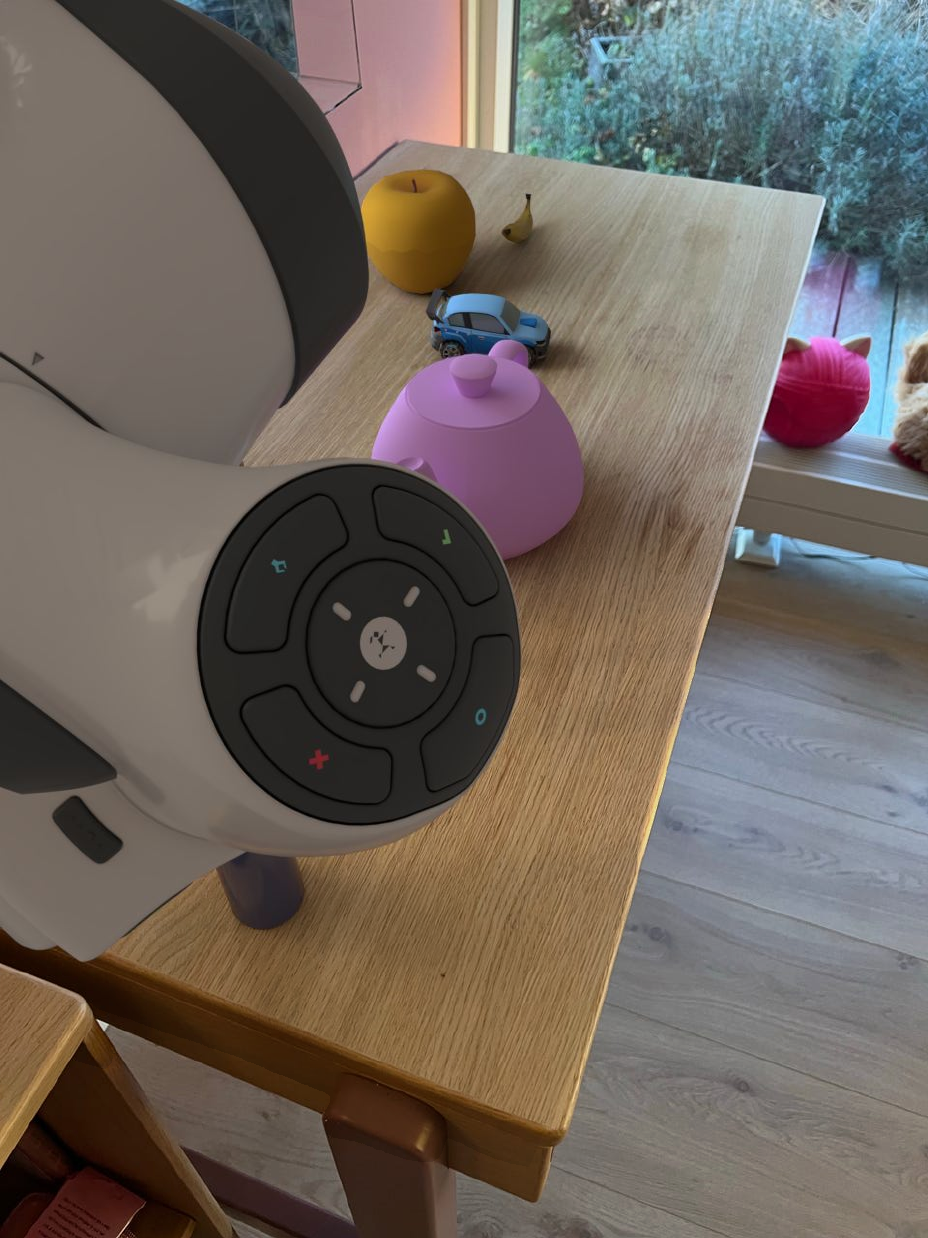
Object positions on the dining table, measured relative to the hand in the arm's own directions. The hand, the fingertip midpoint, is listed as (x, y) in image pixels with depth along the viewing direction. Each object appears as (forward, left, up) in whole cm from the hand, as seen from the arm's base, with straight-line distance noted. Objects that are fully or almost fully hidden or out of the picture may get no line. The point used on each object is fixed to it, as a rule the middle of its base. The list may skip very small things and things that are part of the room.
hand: (169, 721), depth 46 cm
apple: (-29, +74, -18) cm, 81 cm away
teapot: (-5, +39, -18) cm, 43 cm away
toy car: (-15, +63, -18) cm, 67 cm away
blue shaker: (0, +2, -18) cm, 18 cm away
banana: (-23, +87, -18) cm, 92 cm away
